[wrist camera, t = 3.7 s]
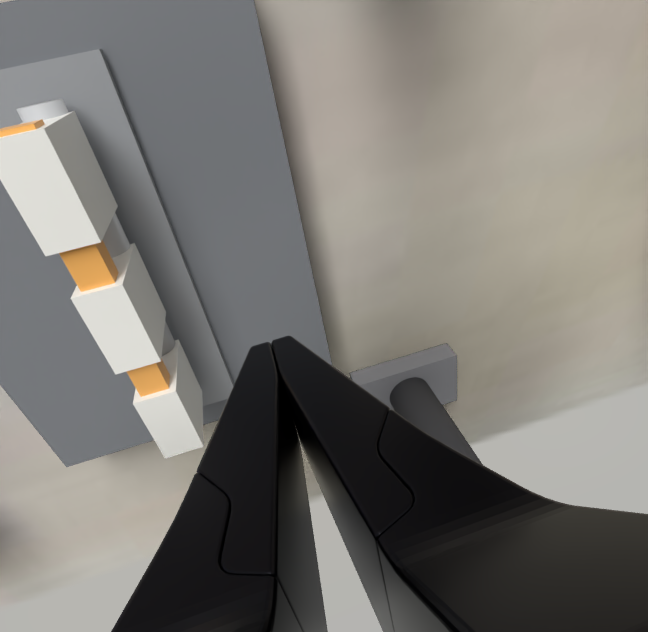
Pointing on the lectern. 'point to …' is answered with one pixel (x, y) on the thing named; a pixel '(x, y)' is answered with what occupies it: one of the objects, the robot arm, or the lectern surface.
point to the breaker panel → (153, 205)
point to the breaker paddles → (101, 267)
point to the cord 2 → (420, 392)
